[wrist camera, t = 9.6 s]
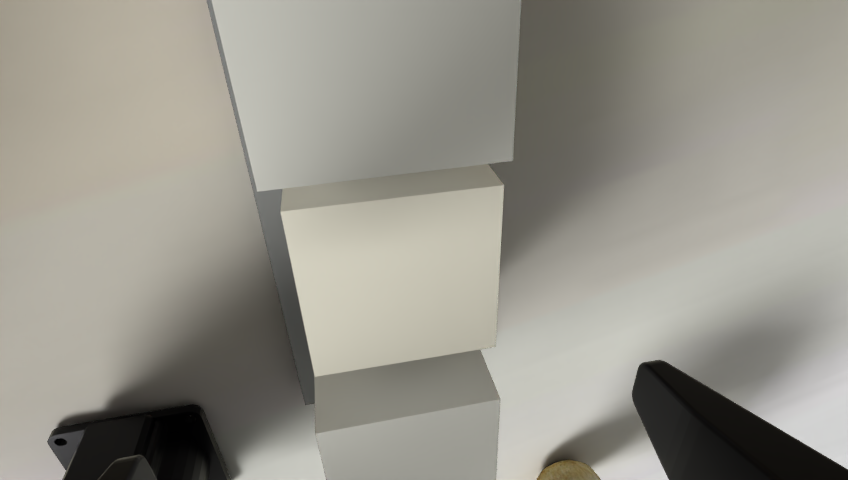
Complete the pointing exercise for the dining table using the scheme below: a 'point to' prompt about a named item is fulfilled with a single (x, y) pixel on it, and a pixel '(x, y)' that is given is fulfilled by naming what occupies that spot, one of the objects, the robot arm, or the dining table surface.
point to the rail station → (369, 158)
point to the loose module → (396, 265)
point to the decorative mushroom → (568, 471)
